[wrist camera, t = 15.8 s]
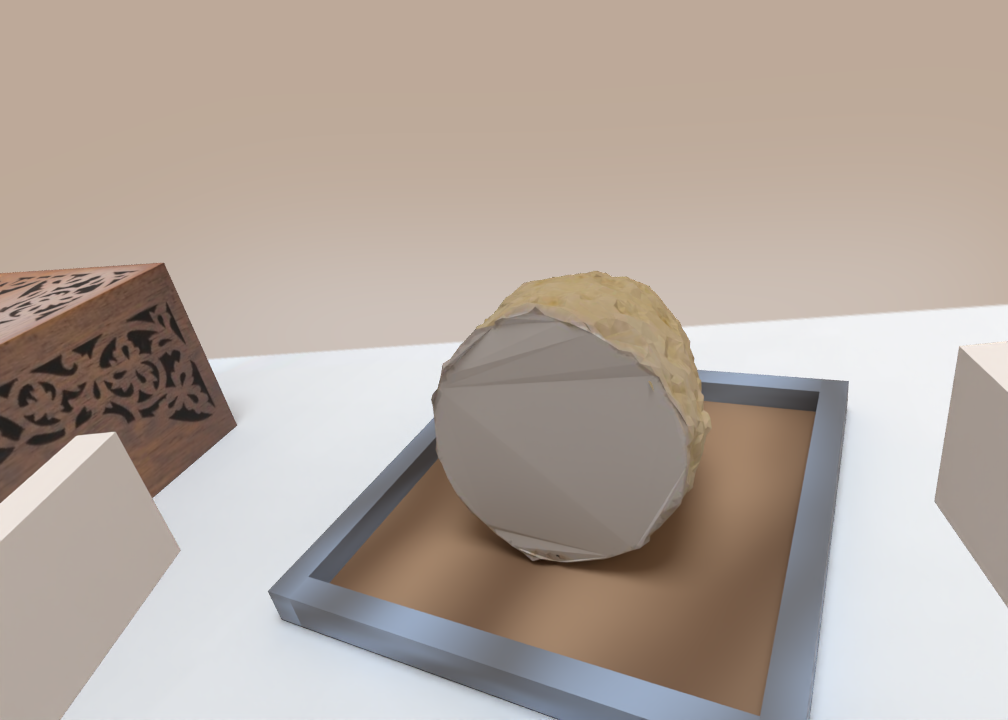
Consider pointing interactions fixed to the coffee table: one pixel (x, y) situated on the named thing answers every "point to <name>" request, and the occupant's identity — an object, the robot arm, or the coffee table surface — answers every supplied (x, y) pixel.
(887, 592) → the coffee table surface
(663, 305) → the coral
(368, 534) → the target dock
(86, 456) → the robot arm
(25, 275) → the tissue box cover
